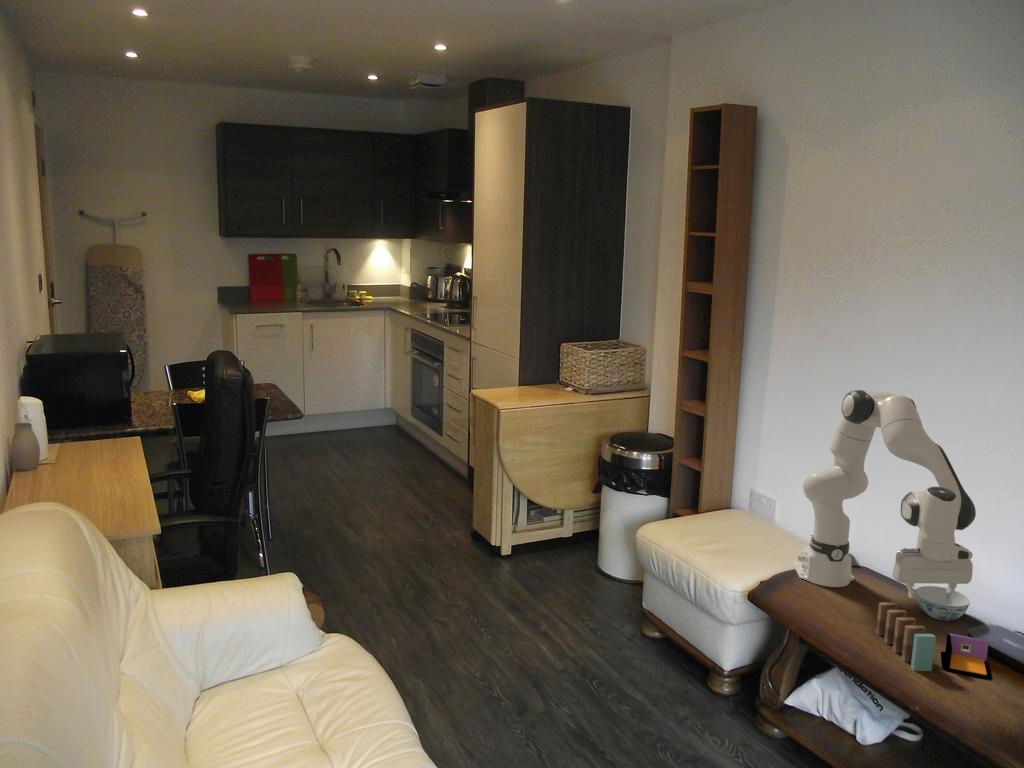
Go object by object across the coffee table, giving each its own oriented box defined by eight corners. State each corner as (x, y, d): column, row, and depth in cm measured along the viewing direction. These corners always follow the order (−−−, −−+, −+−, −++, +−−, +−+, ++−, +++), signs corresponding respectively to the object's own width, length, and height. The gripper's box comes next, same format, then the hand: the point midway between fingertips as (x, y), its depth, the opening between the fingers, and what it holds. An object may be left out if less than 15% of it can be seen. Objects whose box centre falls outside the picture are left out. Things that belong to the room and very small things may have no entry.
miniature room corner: (940, 652, 237) (942, 630, 236) (987, 662, 233) (990, 639, 231) (942, 671, 227) (945, 648, 225) (992, 682, 222) (995, 658, 221)
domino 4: (904, 661, 231) (908, 628, 229) (901, 658, 233) (905, 625, 231) (921, 661, 231) (925, 628, 230) (918, 658, 233) (922, 625, 231)
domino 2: (886, 644, 241) (890, 612, 239) (883, 641, 242) (887, 609, 241) (903, 644, 241) (907, 612, 239) (900, 642, 243) (904, 609, 241)
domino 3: (895, 652, 236) (898, 620, 234) (892, 650, 237) (896, 617, 236) (912, 653, 236) (916, 620, 234) (909, 650, 238) (913, 617, 236)
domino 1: (878, 636, 246) (881, 604, 244) (875, 634, 247) (879, 602, 246) (894, 636, 246) (898, 604, 244) (892, 634, 248) (895, 602, 246)
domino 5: (913, 670, 226) (917, 636, 224) (910, 667, 228) (914, 633, 226) (931, 670, 226) (935, 636, 225) (928, 667, 228) (932, 633, 226)
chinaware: (912, 622, 256) (914, 599, 254) (914, 604, 269) (916, 582, 267) (967, 634, 249) (970, 610, 247) (966, 615, 262) (969, 592, 260)
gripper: (903, 552, 217) (897, 602, 220) (978, 553, 219) (972, 602, 221) (891, 544, 224) (885, 592, 226) (964, 544, 225) (958, 593, 227)
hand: (929, 597), depth 223 cm, fingers open, 8 cm apart
